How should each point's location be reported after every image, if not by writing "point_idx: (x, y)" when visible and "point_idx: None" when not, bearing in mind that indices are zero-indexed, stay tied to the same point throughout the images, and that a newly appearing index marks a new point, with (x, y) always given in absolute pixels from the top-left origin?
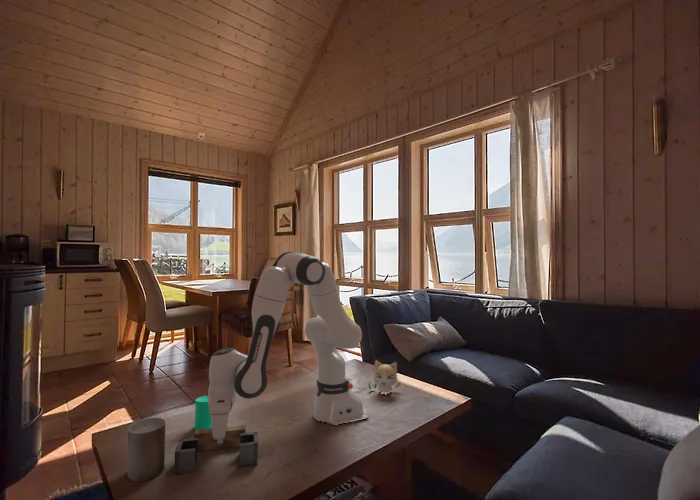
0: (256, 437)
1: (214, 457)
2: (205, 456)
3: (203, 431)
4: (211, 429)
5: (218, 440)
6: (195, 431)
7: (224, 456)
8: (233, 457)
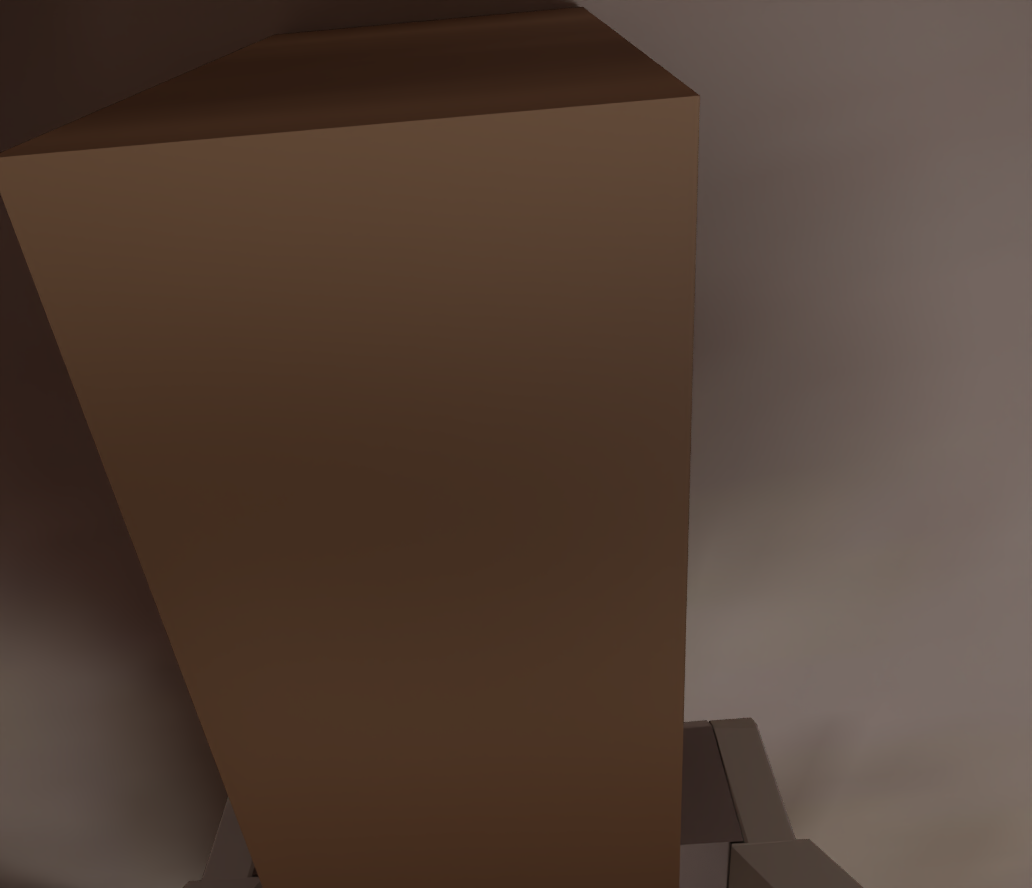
0: None
1: (13, 602)
2: (25, 419)
3: (376, 607)
4: (556, 857)
5: (225, 844)
6: (421, 131)
7: (80, 751)
8: (65, 866)
